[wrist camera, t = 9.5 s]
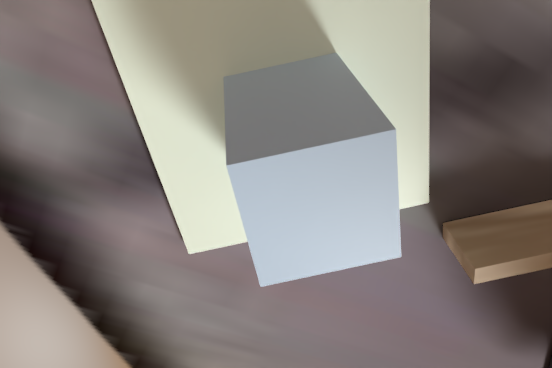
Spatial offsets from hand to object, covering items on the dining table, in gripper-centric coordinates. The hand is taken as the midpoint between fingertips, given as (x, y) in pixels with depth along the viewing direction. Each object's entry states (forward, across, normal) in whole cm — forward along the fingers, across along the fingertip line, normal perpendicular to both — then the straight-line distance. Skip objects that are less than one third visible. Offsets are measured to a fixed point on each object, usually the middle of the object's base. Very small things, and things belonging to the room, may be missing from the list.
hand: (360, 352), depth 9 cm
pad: (+12, 0, 0) cm, 12 cm away
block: (+12, 0, 0) cm, 12 cm away
